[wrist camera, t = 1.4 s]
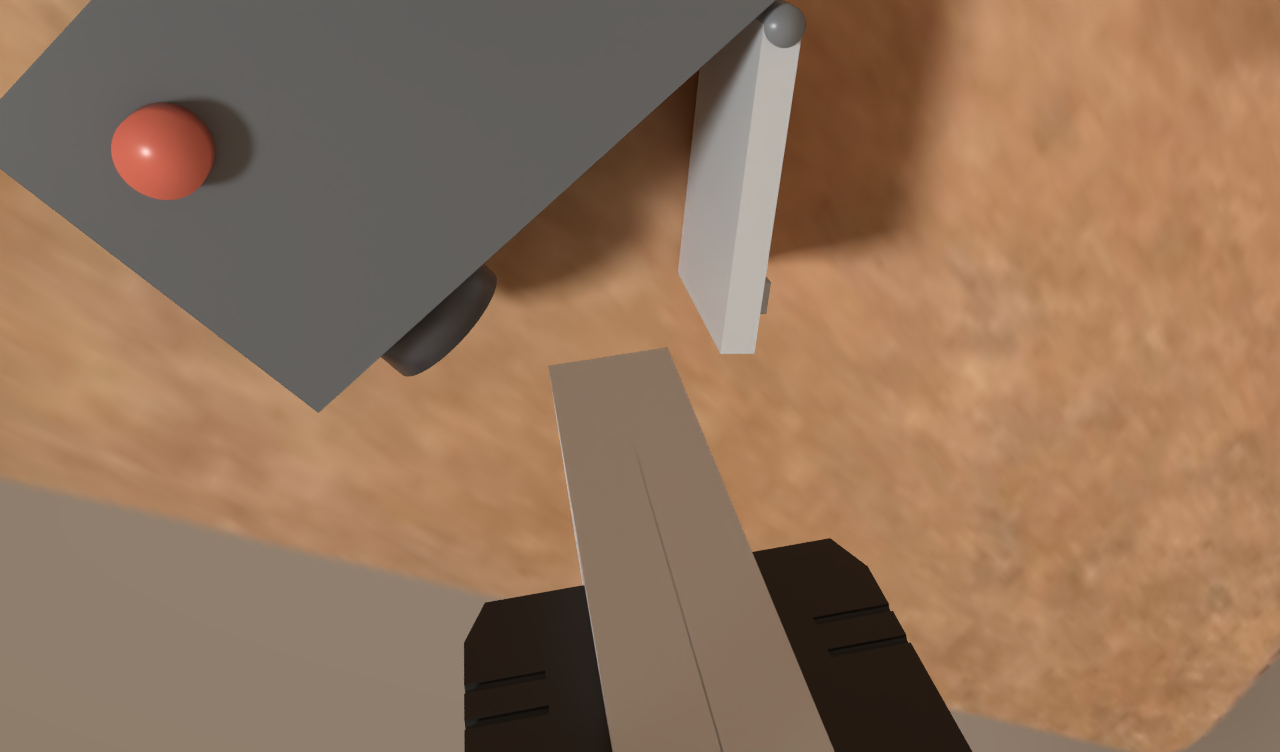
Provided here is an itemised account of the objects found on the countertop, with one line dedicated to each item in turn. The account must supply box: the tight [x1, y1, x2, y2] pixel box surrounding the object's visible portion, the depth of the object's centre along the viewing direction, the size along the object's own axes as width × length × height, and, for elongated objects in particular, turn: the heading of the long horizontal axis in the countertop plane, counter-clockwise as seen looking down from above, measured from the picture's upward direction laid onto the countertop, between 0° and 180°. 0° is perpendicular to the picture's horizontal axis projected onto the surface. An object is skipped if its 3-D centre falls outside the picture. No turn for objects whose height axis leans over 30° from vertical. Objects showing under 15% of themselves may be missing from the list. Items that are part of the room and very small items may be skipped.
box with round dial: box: [0, 0, 775, 413], centre depth 26 cm, size 12×16×8 cm
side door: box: [678, 0, 806, 354], centre depth 29 cm, size 2×10×6 cm, turn 175°
